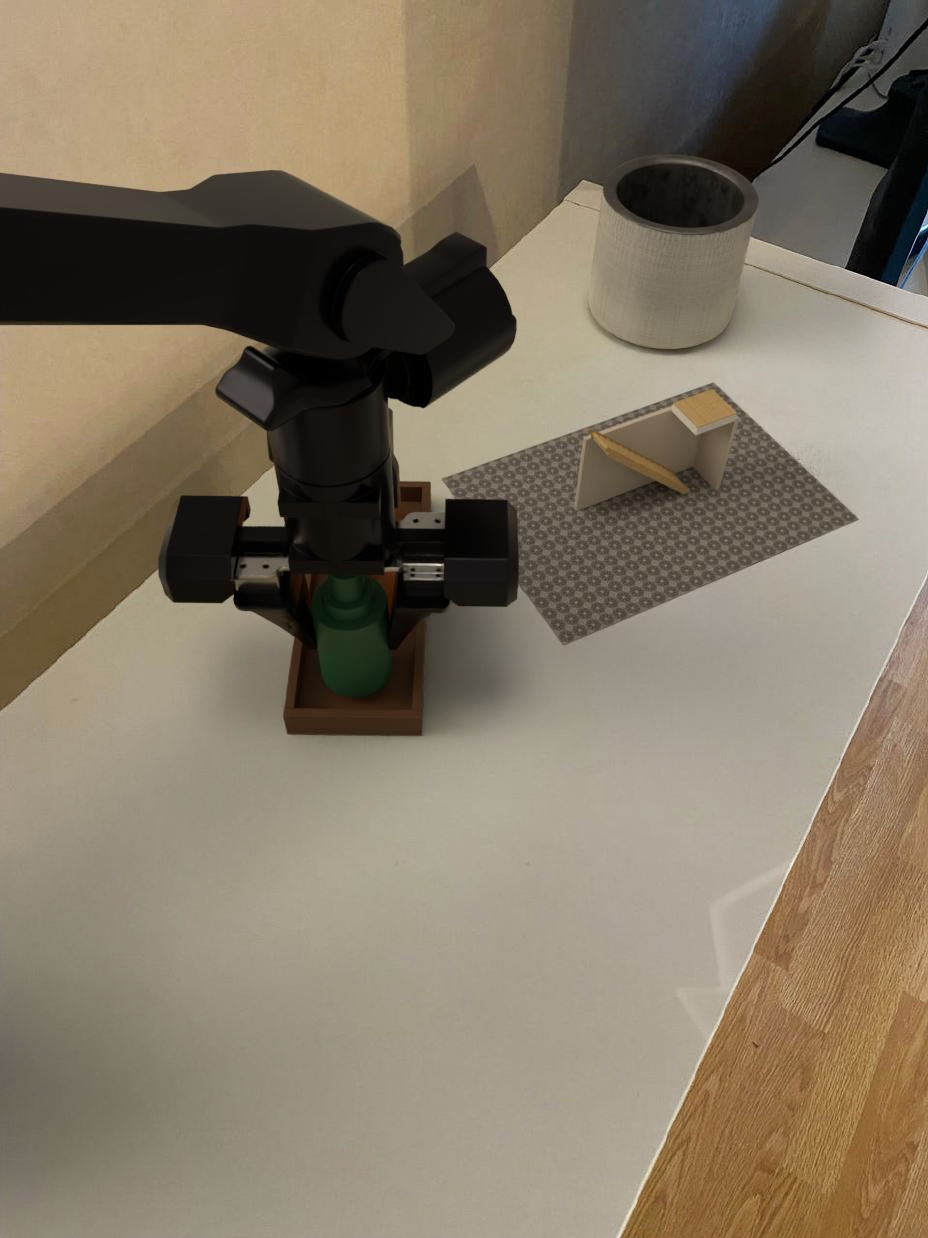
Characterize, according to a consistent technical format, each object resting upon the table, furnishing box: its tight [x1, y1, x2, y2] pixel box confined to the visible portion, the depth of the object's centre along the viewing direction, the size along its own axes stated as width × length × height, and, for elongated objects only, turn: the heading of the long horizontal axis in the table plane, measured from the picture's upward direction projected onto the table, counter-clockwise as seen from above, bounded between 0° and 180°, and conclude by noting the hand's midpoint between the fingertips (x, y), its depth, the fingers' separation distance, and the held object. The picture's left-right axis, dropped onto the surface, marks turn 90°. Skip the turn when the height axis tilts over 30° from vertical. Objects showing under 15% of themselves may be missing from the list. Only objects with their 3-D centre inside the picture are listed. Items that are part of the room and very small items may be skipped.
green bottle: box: [311, 574, 392, 697], centre depth 59 cm, size 4×4×10 cm
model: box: [573, 388, 740, 511], centre depth 72 cm, size 3×11×8 cm, turn 118°
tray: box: [282, 480, 432, 737], centre depth 67 cm, size 20×8×2 cm, turn 0°
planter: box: [587, 154, 759, 350], centre depth 85 cm, size 13×13×11 cm
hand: (354, 643), depth 61 cm, fingers closed on green bottle, 4 cm apart
